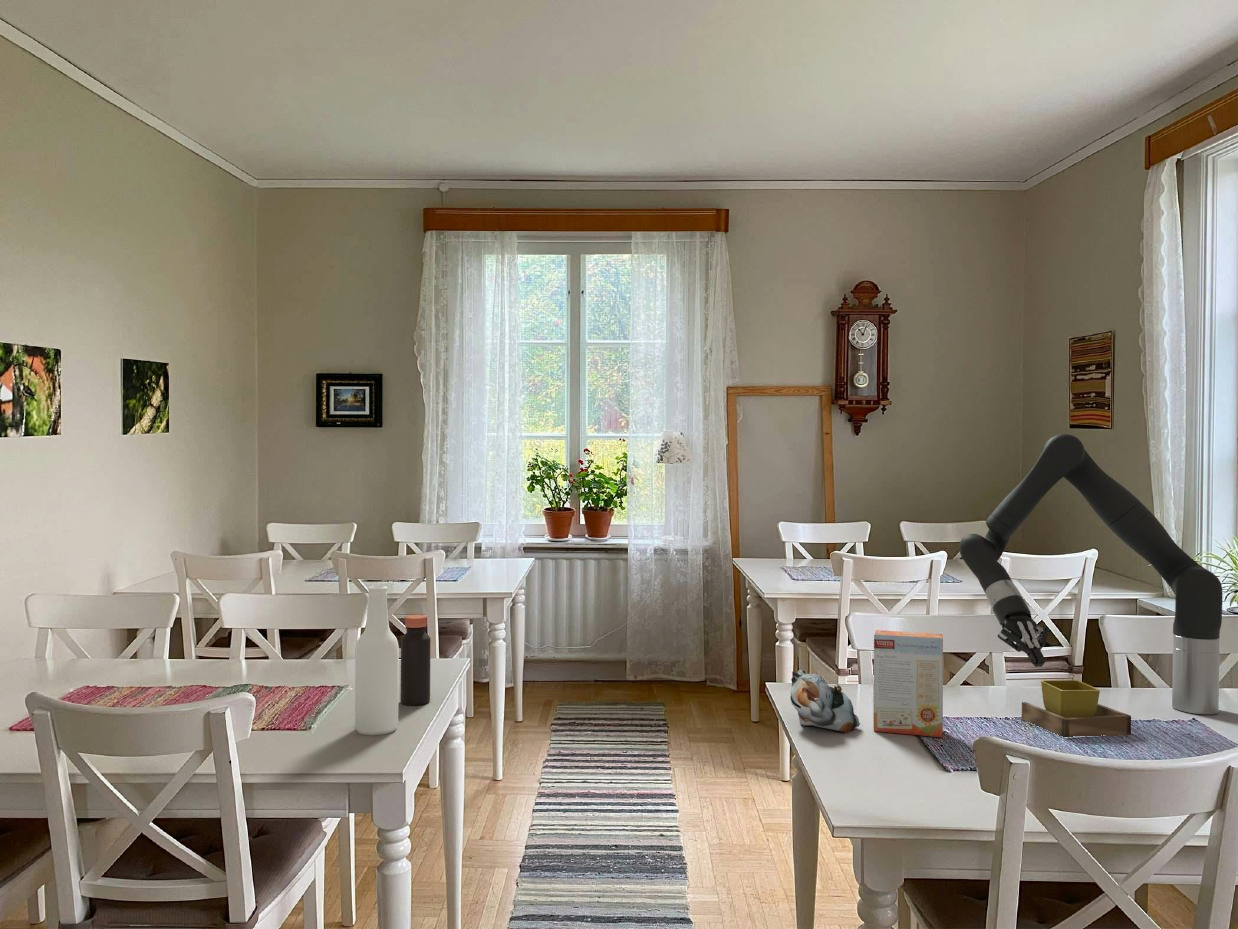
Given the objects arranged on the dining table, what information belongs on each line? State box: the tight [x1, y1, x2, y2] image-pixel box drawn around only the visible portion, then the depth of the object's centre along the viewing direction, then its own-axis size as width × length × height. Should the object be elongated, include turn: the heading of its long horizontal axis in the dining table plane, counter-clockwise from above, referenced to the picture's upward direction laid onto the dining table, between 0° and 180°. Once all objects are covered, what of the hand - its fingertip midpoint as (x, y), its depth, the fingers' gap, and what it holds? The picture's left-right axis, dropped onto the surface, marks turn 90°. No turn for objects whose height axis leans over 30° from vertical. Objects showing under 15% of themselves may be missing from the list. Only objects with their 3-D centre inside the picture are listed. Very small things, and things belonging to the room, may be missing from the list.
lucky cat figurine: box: [790, 669, 861, 734], centre depth 199 cm, size 15×12×14 cm
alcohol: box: [354, 585, 400, 736], centre depth 193 cm, size 9×9×30 cm
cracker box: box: [872, 629, 944, 738], centre depth 196 cm, size 14×6×21 cm, turn 71°
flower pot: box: [1040, 679, 1101, 718], centre depth 201 cm, size 9×9×9 cm
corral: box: [1021, 701, 1132, 737], centre depth 200 cm, size 14×16×4 cm
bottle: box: [399, 614, 432, 706], centre depth 216 cm, size 7×7×20 cm
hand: (1040, 664), depth 211 cm, fingers closed
